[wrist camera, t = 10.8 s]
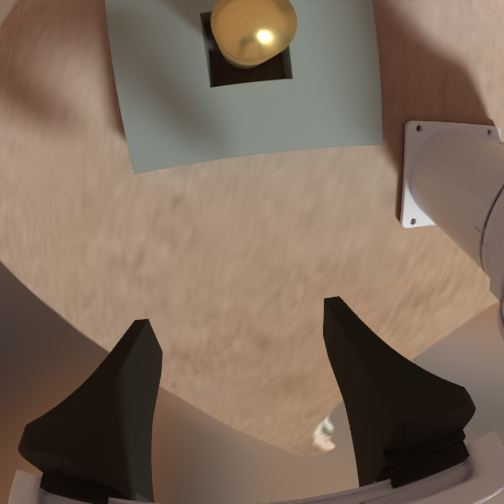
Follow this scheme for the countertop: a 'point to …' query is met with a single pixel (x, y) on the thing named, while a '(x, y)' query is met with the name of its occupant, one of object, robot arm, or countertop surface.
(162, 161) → the hole plate
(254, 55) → the long pin
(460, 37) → the countertop surface
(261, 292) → the countertop surface
